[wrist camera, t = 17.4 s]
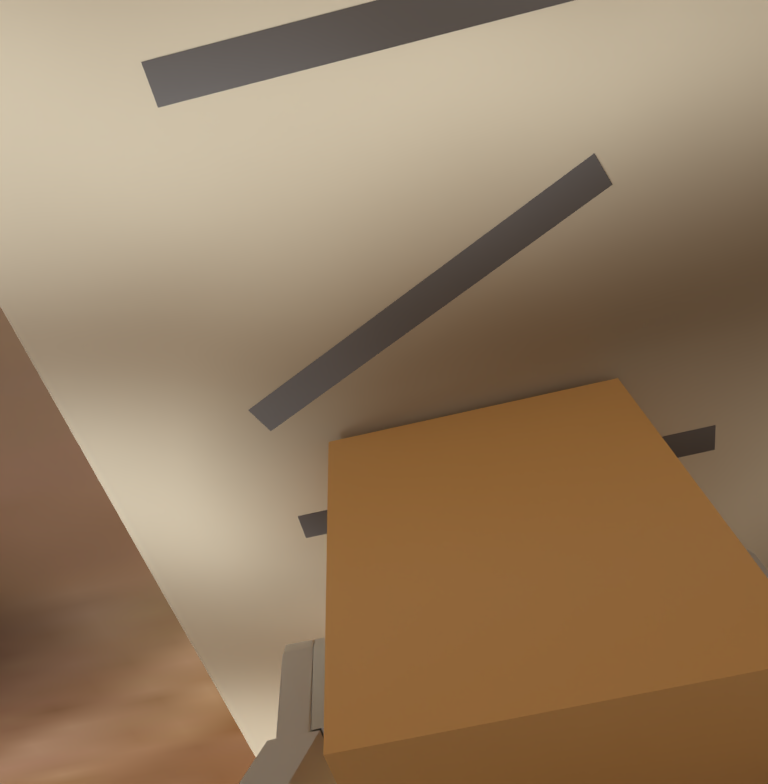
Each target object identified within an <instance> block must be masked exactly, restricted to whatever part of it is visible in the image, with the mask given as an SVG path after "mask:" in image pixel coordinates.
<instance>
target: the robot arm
mask: <svg viewBox="0 0 768 784" xmlns="http://www.w3.org/2000/svg"><path fill="white" fill-rule="evenodd" d="M746 550H747V551H748V553H749V554H750V555H751V557H752V558H753V559H754V561H755V562H756V563H757V565H758V566H759V567H760V569H761V570H762V571H763V573H764V574H765V575H766V577H767V578H768V570H767V569H766V568H765V566H764V565H763V564H762V563H761V561H760V560H759V559H758V557H757V556H756V555H755V553H753V552H751V551H750V550H748V549H746ZM324 684H325V637H323V638H318V639H313V640H308V641H303V642H298V643H293V644H288V645H286V646H285V649H284V652H283V655H282V667H281V680H280V693H279V706H278V719H277V732H276V739H272V740H268V741H267V742H266V743H265V745H264V746H263V748H262V749H261V751H260V752H259V754H258V755H257V757H256V758H255V760H254V761H253V763H252V765H251V766H250V768H249V769H248V771H247V772H246V774H245V775H244V777H243V778H242V780H241V781H240V783H239V784H337V783H336V781H335V779H334V777H333V775H332V773H331V771H330V768H329V766H328V764H327V762H326V760H325V758H324V755H323V744H324Z"/></svg>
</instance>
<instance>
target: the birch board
mask: <svg viewBox="0 0 768 784" xmlns="http://www.w3.org/2000/svg"><path fill="white" fill-rule="evenodd" d="M0 307H1V308H2V310H3V312H4V314H5V315H6V317H7V319H8V321H9V322H10V324H11V326H12V328H13V329H14V331H15V333H16V335H17V337H18V338H19V340H20V342H21V344H22V345H23V347H24V349H25V351H26V352H27V354H28V356H29V358H30V359H31V361H32V363H33V365H34V367H35V368H36V370H37V372H38V374H39V375H40V377H41V379H42V381H43V382H44V384H45V386H46V388H47V389H48V391H49V393H50V395H51V397H52V398H53V400H54V402H55V404H56V405H57V407H58V409H59V411H60V412H61V414H62V416H63V418H64V419H65V421H66V423H67V425H68V427H69V428H70V430H71V432H72V434H73V435H74V437H75V439H76V441H77V442H78V444H79V446H80V448H81V450H82V451H83V453H84V455H85V457H86V458H87V460H88V462H89V464H90V465H91V467H92V469H93V471H94V472H95V474H96V476H97V478H98V480H99V481H100V483H101V485H102V487H103V488H104V490H105V492H106V494H107V495H108V497H109V499H110V501H111V502H112V504H113V506H114V508H115V510H116V511H117V513H118V515H119V517H120V518H121V520H122V522H123V524H124V525H125V527H126V529H127V531H128V532H129V534H130V536H131V538H132V540H133V541H134V543H135V545H136V547H137V548H138V550H139V552H140V554H141V555H142V557H143V559H144V561H145V562H146V564H147V566H148V568H149V570H150V571H151V573H152V575H153V577H154V578H155V580H156V582H157V584H158V585H159V587H160V589H161V591H162V592H163V594H164V596H165V598H166V600H167V601H168V603H169V605H170V607H171V608H172V610H173V612H174V614H175V615H176V617H177V619H178V621H179V623H180V624H181V626H182V628H183V630H184V631H185V633H186V635H187V637H188V638H189V640H190V642H191V644H192V645H193V647H194V649H195V651H196V653H197V654H198V656H199V658H200V660H201V661H202V663H203V665H204V667H205V668H206V670H207V672H208V674H209V675H210V677H211V679H212V681H213V683H214V684H215V686H216V688H217V690H218V691H219V693H220V695H221V697H222V698H223V700H224V702H225V704H226V705H227V707H228V709H229V711H230V713H231V714H232V716H233V718H234V720H235V721H236V723H237V725H238V727H239V728H240V730H241V732H242V734H243V735H244V737H245V739H246V741H247V743H248V744H249V746H250V748H251V750H252V751H253V753H254V755H255V757H257V755H258V754H259V752H260V751H261V749H262V748H263V746H264V745H265V743H266V742H267V741H268V740H272V739H276V732H277V719H278V706H279V693H280V680H281V667H282V655H283V652H284V649H285V646H286V645H288V644H293V643H298V642H303V641H308V640H313V639H318V638H323V637H325V623H326V563H327V503H328V443H329V442H330V441H335V440H340V439H344V438H349V437H353V436H358V435H362V434H367V433H371V432H376V431H380V430H385V429H389V428H394V427H398V426H403V425H408V424H412V423H417V422H421V421H426V420H430V419H435V418H439V417H444V416H448V415H453V414H457V413H462V412H466V411H471V410H475V409H480V408H485V407H489V406H494V405H498V404H503V403H507V402H512V401H516V400H521V399H525V398H530V397H534V396H539V395H543V394H548V393H553V392H557V391H562V390H566V389H571V388H575V387H580V386H584V385H589V384H593V383H598V382H602V381H607V380H611V379H616V378H618V379H619V380H620V381H621V383H622V384H623V385H624V387H625V388H626V389H627V391H628V392H629V394H630V395H631V396H632V398H633V399H634V400H635V402H636V403H637V404H638V406H639V407H640V408H641V410H642V411H643V412H644V414H645V415H646V416H647V418H648V419H649V420H650V422H651V423H652V424H653V426H654V427H655V428H656V430H657V431H658V432H659V434H660V435H661V436H662V438H663V439H664V440H665V442H666V443H667V444H668V446H669V447H670V448H671V450H672V451H673V452H674V454H675V455H676V456H677V458H678V459H679V460H680V462H681V463H682V464H683V466H684V467H685V468H686V470H687V471H688V472H689V474H690V475H691V476H692V478H693V479H694V480H695V482H696V483H697V484H698V486H699V487H700V488H701V490H702V491H703V492H704V494H705V495H706V496H707V498H708V499H709V500H710V502H711V503H712V504H713V506H714V507H715V508H716V510H717V511H718V512H719V514H720V515H721V517H722V518H723V519H724V521H725V522H726V523H727V525H728V526H729V527H730V529H731V530H732V531H733V533H734V534H735V535H736V537H737V538H738V539H739V541H740V542H741V543H742V545H743V546H744V547H745V549H748V550H750V551H751V552H753V553H755V555H756V556H757V557H758V559H759V560H760V561H761V563H762V564H763V565H764V566H765V568H766V569H767V570H768V0H0Z"/></svg>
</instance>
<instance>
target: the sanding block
mask: <svg viewBox="0 0 768 784" xmlns="http://www.w3.org/2000/svg"><path fill="white" fill-rule="evenodd" d="M323 755H324V758H325V760H326V762H327V764H328V766H329V768H330V771H331V773H332V775H333V777H334V779H335V781H336V783H337V784H768V578H767V577H766V575H765V574H764V573H763V571H762V570H761V569H760V567H759V566H758V565H757V563H756V562H755V561H754V559H753V558H752V557H751V555H750V554H749V553H748V551H747V550H746V549H745V547H744V546H743V545H742V543H741V542H740V541H739V539H738V538H737V537H736V535H735V534H734V533H733V531H732V530H731V529H730V527H729V526H728V525H727V523H726V522H725V521H724V519H723V518H722V517H721V515H720V514H719V512H718V511H717V510H716V508H715V507H714V506H713V504H712V503H711V502H710V500H709V499H708V498H707V496H706V495H705V494H704V492H703V491H702V490H701V488H700V487H699V486H698V484H697V483H696V482H695V480H694V479H693V478H692V476H691V475H690V474H689V472H688V471H687V470H686V468H685V467H684V466H683V464H682V463H681V462H680V460H679V459H678V458H677V456H676V455H675V454H674V452H673V451H672V450H671V448H670V447H669V446H668V444H667V443H666V442H665V440H664V439H663V438H662V436H661V435H660V434H659V432H658V431H657V430H656V428H655V427H654V426H653V424H652V423H651V422H650V420H649V419H648V418H647V416H646V415H645V414H644V412H643V411H642V410H641V408H640V407H639V406H638V404H637V403H636V402H635V400H634V399H633V398H632V396H631V395H630V394H629V392H628V391H627V389H626V388H625V387H624V385H623V384H622V383H621V381H620V380H619V379H618V378H616V379H611V380H607V381H602V382H598V383H593V384H589V385H584V386H580V387H575V388H571V389H566V390H562V391H557V392H553V393H548V394H543V395H539V396H534V397H530V398H525V399H521V400H516V401H512V402H507V403H503V404H498V405H494V406H489V407H485V408H480V409H475V410H471V411H466V412H462V413H457V414H453V415H448V416H444V417H439V418H435V419H430V420H426V421H421V422H417V423H412V424H408V425H403V426H398V427H394V428H389V429H385V430H380V431H376V432H371V433H367V434H362V435H358V436H353V437H349V438H344V439H340V440H335V441H330V442H329V443H328V503H327V563H326V623H325V684H324V744H323Z"/></svg>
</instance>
